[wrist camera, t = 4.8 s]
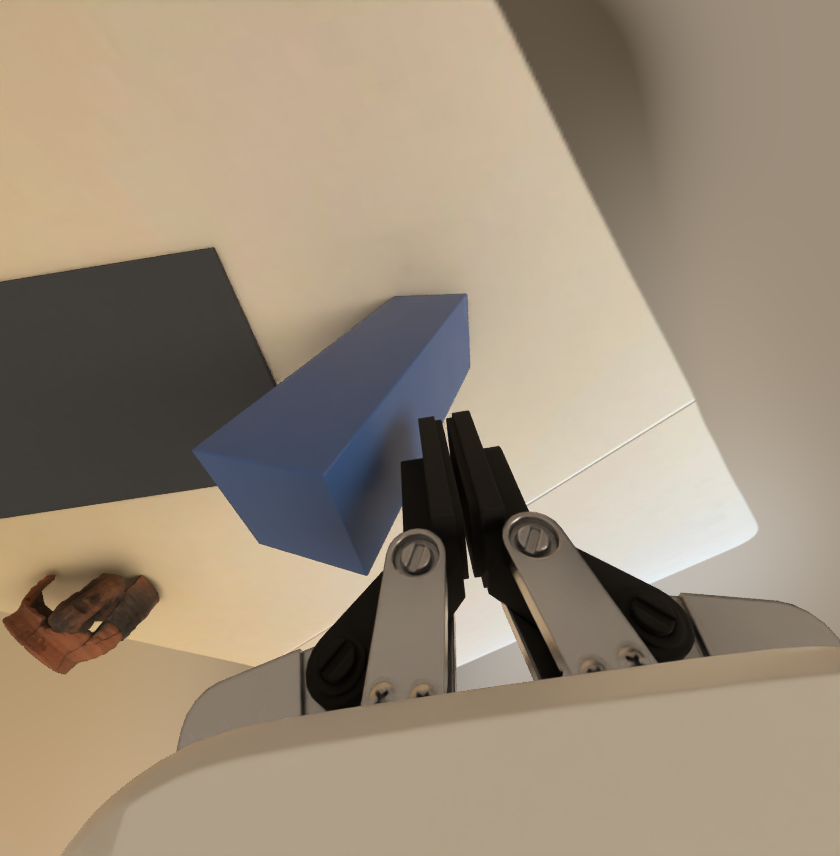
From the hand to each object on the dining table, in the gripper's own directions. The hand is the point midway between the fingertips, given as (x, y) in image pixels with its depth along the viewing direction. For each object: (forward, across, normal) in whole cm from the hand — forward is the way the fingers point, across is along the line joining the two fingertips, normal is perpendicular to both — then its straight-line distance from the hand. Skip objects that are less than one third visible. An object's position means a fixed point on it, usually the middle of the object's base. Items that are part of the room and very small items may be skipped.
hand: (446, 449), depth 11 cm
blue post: (+11, -1, 0) cm, 11 cm away
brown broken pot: (+12, +35, +21) cm, 43 cm away
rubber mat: (+12, +25, +2) cm, 28 cm away
